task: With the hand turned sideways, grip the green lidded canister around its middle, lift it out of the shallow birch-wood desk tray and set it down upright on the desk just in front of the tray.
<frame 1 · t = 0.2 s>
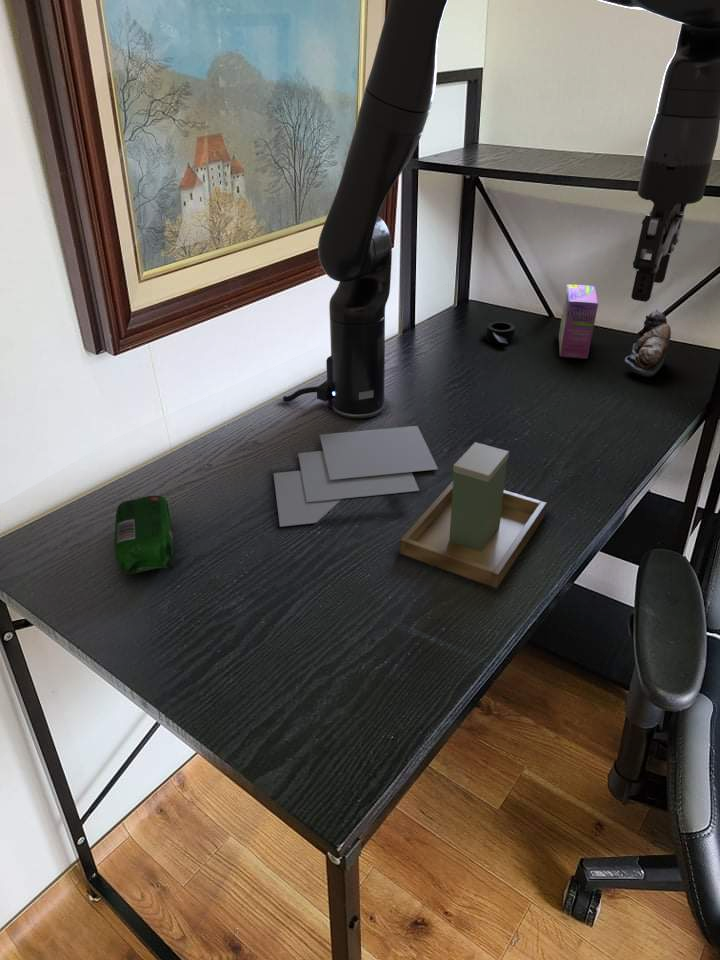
hand: (647, 290, 95), 29 cm above the table, tool pointing down, fingers open, 8 cm apart
desk tray: (474, 535, 99), on the table
paper stack: (355, 474, 112), on the table
box: (572, 349, 152), on the table
snack package: (148, 552, 97), on the table
duct tape: (499, 340, 156), on the table
green lidded canister: (474, 533, 99), resting on desk tray
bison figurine: (643, 369, 143), on the table
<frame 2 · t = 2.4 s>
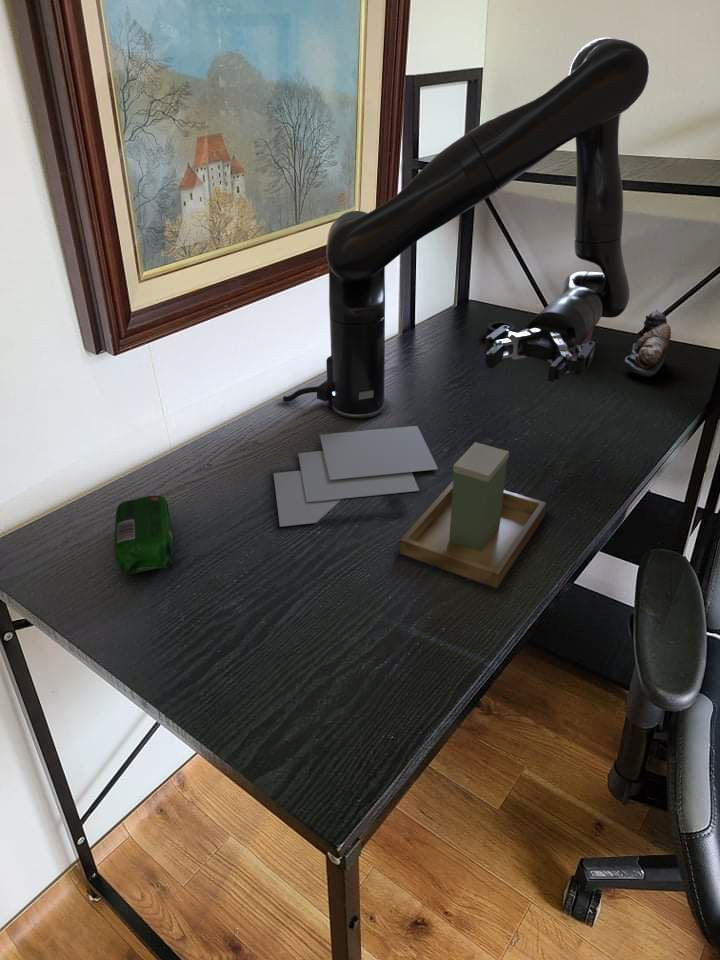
hand: (520, 368, 96), 20 cm above the table, tool horizontal, fingers open, 8 cm apart
nothing on the table moved.
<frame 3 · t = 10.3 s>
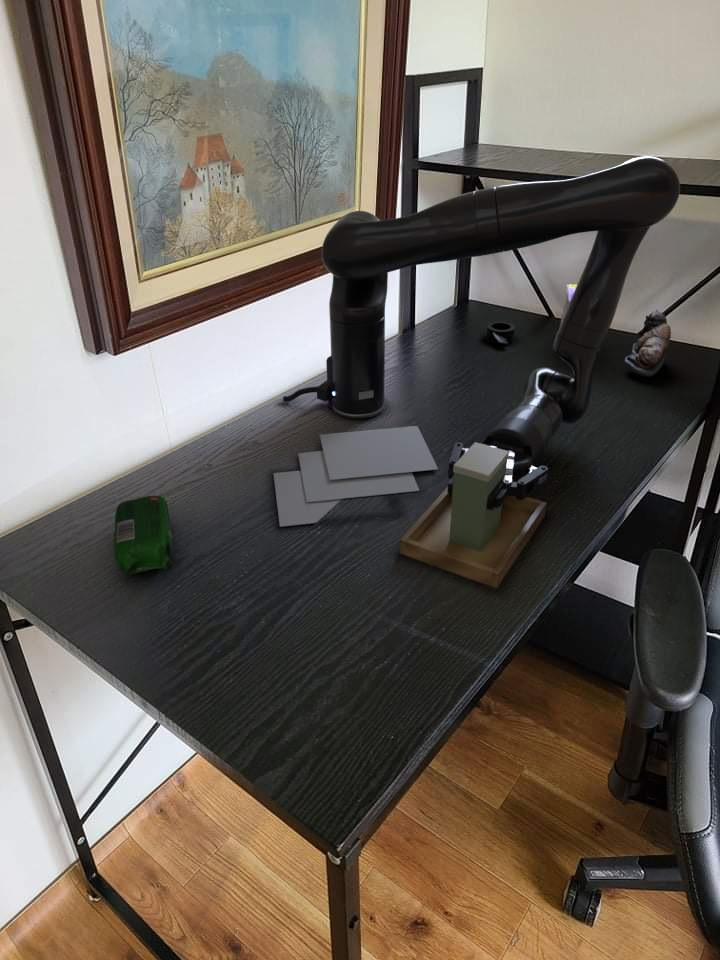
hand: (470, 497, 93), 8 cm above the table, tool horizontal, fingers closed on green lidded canister, 4 cm apart
green lidded canister: (474, 533, 99), resting on desk tray, touching gripper
everything else where it was.
when the fingers open (7 cm above the table, at t = 19.4 s): green lidded canister stays where it is, on the table.
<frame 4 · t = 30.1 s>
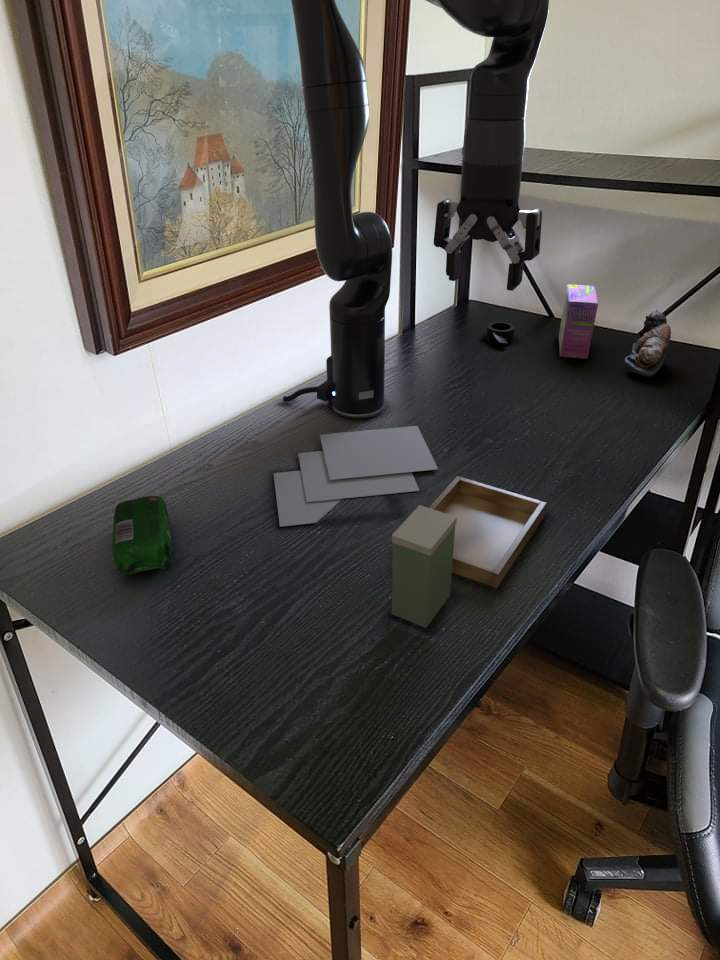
hand: (482, 284, 100), 28 cm above the table, tool pointing down, fingers open, 8 cm apart
green lidded canister: (421, 605, 87), on the table
everything else where it was.
at the end: green lidded canister inside the target area (0.5 cm from its centre), on the table; green lidded canister tilted 0°; the gripper is holding nothing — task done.
